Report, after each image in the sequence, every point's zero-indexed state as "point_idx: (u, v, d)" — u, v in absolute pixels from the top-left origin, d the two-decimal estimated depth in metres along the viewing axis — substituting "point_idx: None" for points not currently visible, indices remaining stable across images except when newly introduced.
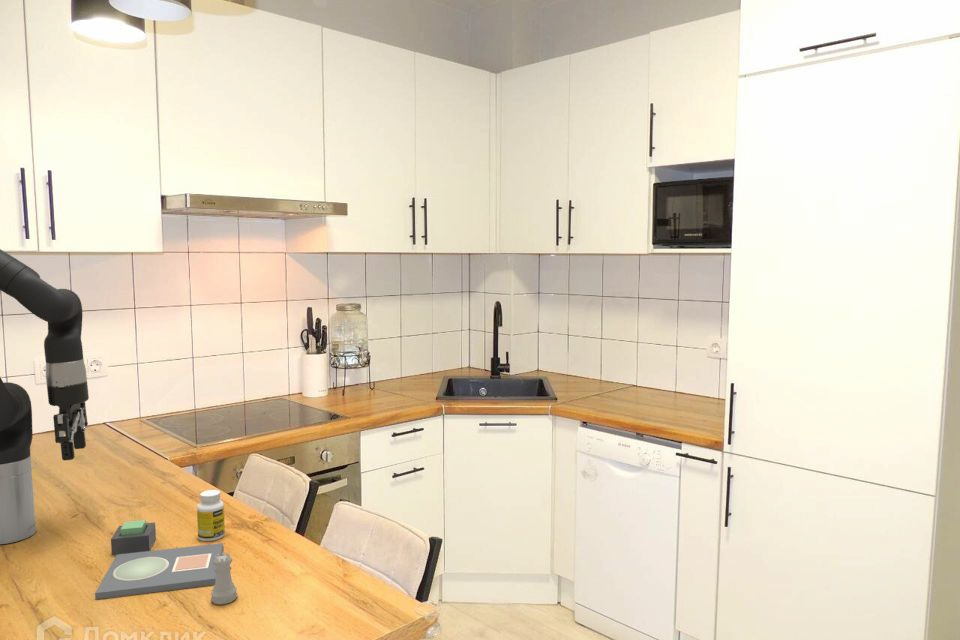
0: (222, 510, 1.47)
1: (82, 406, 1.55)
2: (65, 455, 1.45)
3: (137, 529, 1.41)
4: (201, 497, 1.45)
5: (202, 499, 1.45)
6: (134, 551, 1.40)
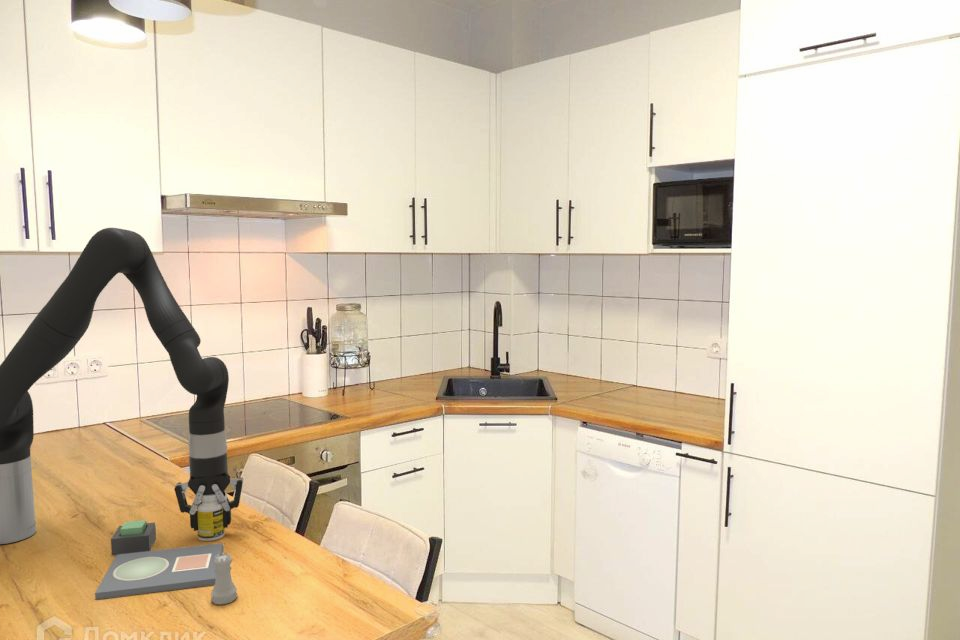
0: (222, 510, 1.47)
1: None
2: None
3: (137, 529, 1.41)
4: (201, 497, 1.45)
5: (202, 499, 1.45)
6: (134, 551, 1.40)
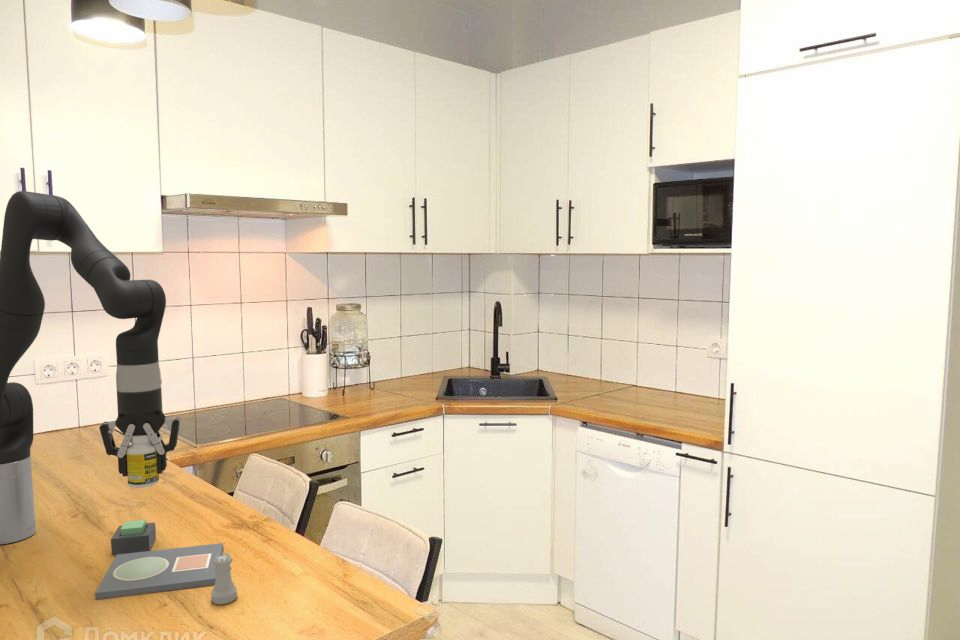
0: (155, 453, 1.29)
1: None
2: None
3: (137, 529, 1.41)
4: (131, 438, 1.28)
5: (132, 440, 1.28)
6: (134, 551, 1.40)
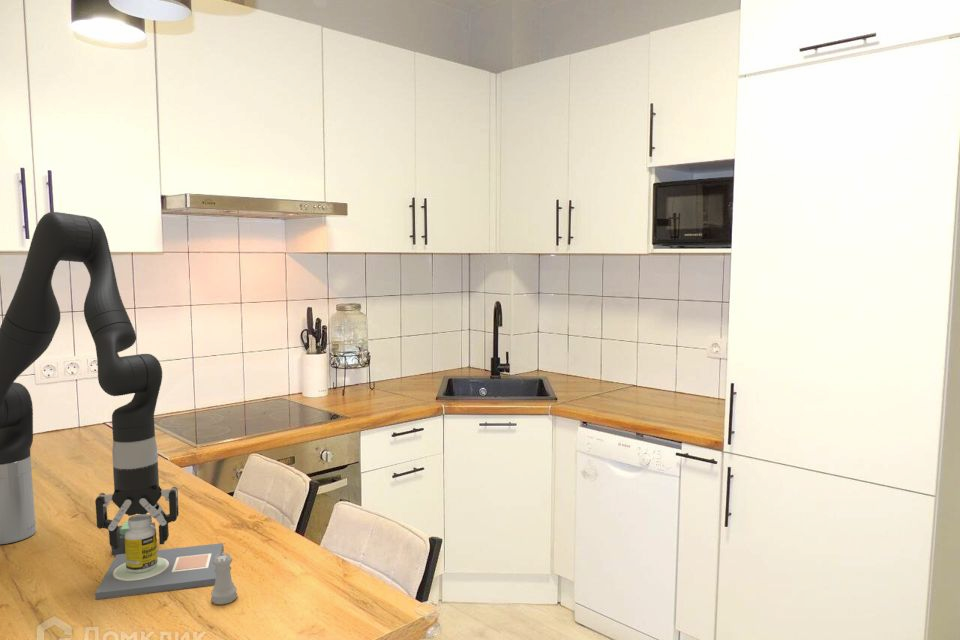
0: (153, 537, 1.29)
1: None
2: None
3: None
4: (129, 523, 1.28)
5: (130, 525, 1.28)
6: None
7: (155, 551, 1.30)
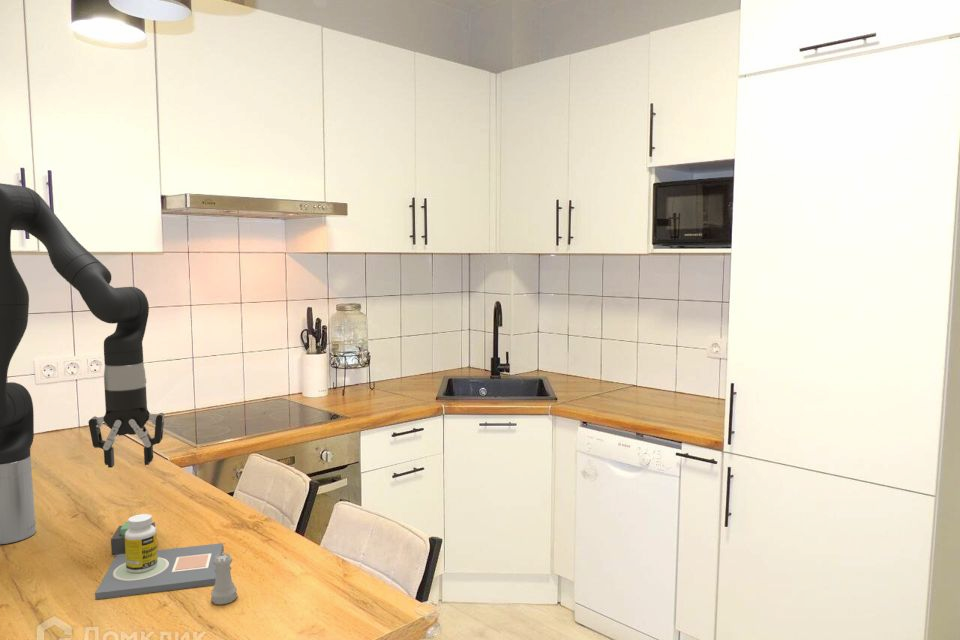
0: (153, 537, 1.29)
1: None
2: None
3: None
4: (129, 523, 1.28)
5: (130, 525, 1.28)
6: None
7: (155, 551, 1.30)
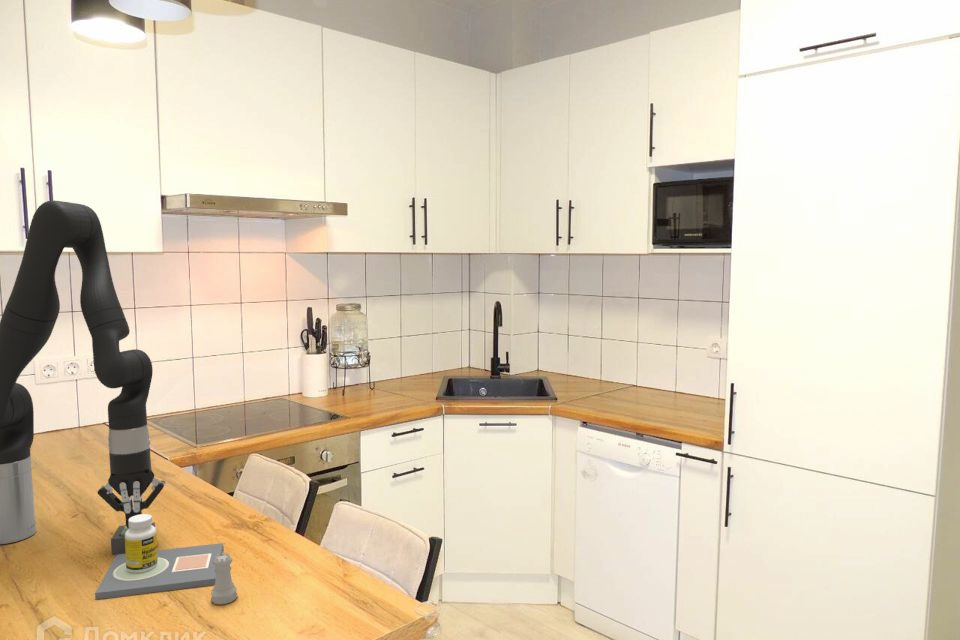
0: (153, 538, 1.29)
1: None
2: None
3: None
4: (129, 523, 1.28)
5: (130, 525, 1.28)
6: None
7: (155, 551, 1.30)
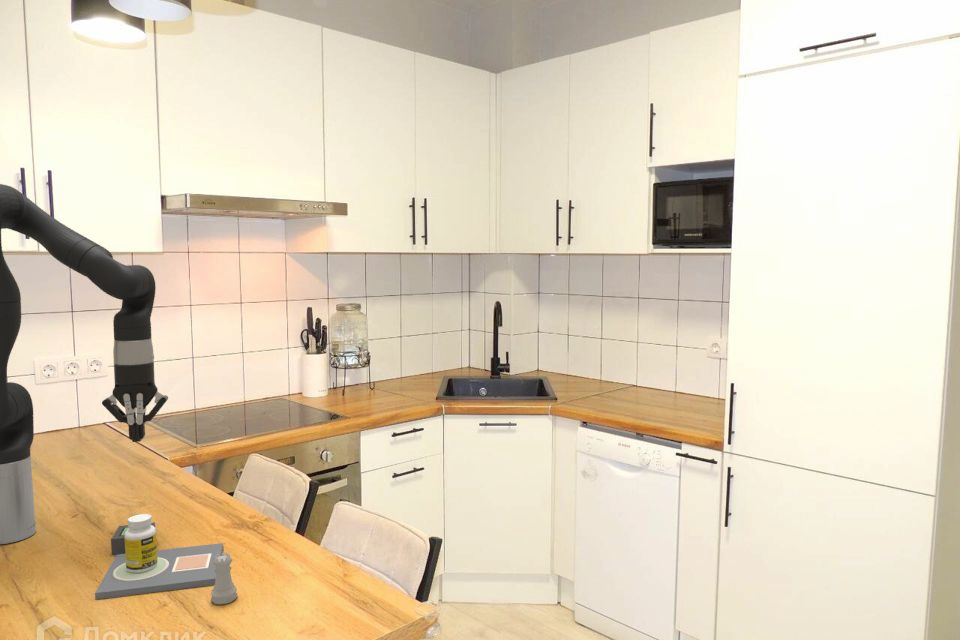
0: (153, 537, 1.29)
1: None
2: None
3: None
4: (128, 523, 1.28)
5: (129, 525, 1.28)
6: None
7: (155, 551, 1.30)
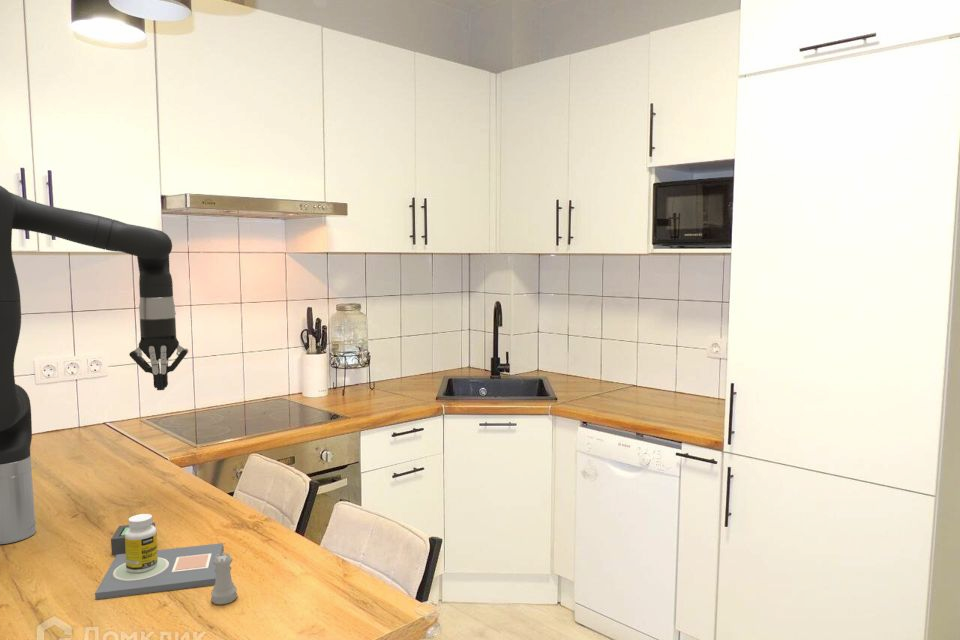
0: (153, 537, 1.29)
1: None
2: None
3: None
4: (129, 522, 1.28)
5: (130, 525, 1.28)
6: None
7: (155, 551, 1.30)
